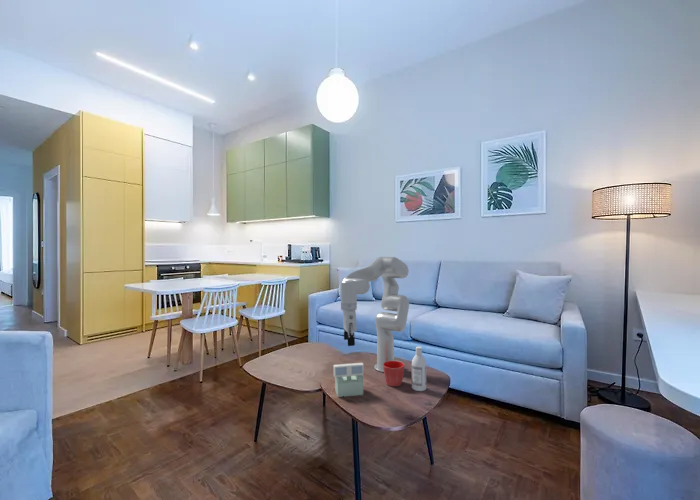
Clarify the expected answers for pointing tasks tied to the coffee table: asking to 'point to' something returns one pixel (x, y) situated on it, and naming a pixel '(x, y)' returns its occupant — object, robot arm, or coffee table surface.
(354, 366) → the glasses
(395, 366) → the flower pot
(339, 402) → the coffee table surface
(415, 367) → the bath foam
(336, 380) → the notched toy brick
